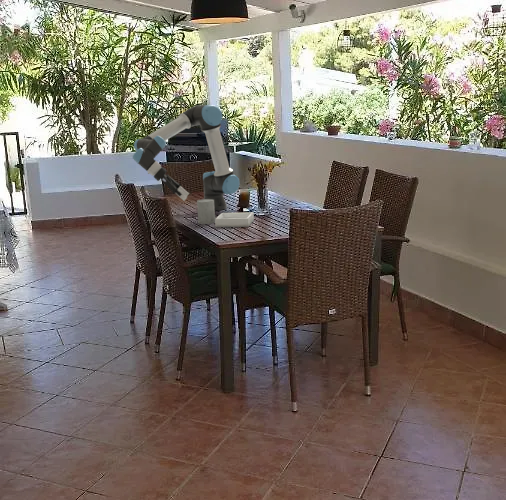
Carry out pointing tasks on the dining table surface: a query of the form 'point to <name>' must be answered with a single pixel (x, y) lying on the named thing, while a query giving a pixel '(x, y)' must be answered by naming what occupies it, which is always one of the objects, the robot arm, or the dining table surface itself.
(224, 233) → the dining table surface
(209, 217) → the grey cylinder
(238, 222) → the white square tray
